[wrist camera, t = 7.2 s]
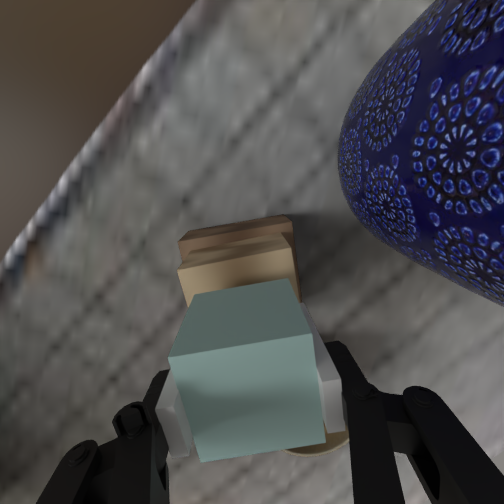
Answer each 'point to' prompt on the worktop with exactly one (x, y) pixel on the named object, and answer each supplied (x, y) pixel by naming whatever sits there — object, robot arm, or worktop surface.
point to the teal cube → (248, 372)
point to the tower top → (237, 265)
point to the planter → (435, 145)
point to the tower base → (241, 236)
